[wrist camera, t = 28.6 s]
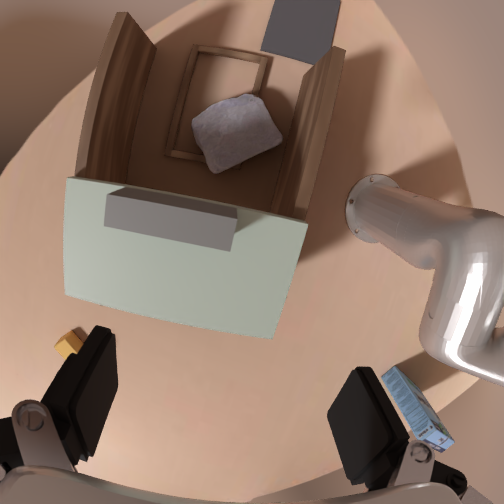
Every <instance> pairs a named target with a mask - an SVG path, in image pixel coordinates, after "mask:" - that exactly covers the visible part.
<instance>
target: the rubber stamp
mask: <svg viewBox="0 0 504 504" xmlns="http://www.w3.org/2000/svg"><path fill="white" fill-rule="evenodd" d="M82 345H83V342H82V341H81V340H80V339H79V338H78V337H77V336H76V334H75V333H74V332H73V331H72V330H71V331H70V332H68V333H67V334H66V335H64V336H63V337H61V338H60V339H59V341H58V342H57V343H56V345H55V346H54V347H55V349H56V350H57V351H58V352H59V354H60V355H61V356H62V357H63V358H64V359H65V360H66V359H67V357H68V356H69V355H70V354H71V353H76V354H77V353H78V352H79V350H80V348H81V347H82ZM57 373H58V372H57ZM56 375H57V374H56Z"/></svg>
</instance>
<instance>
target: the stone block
mask: <svg viewBox="0 0 504 504" xmlns="http://www.w3.org/2000/svg"><path fill="white" fill-rule="evenodd" d="M191 127H192V131H193V134H194V136H195V140H196V143H197V145H198V146H199V147H200V148H201V150H202V151H203V153H204V156H205V158H206V162H207V165H208V167H209V169H210V170H211V171H212V172H213V173H217V174H218V173H220V172H222V171H224V170H226V169H228V168H230V167H232V166H234V165H237V164H239V163H241V162H243V161H245V160H247V159H249V158H251V157H253V156H255V155H257V154H259V153H262V152H264V151H266V150H268V149H271V148H273V147H275V146H277V145H279V144H281V142H282V141H283V136H282V134H281V133H280V132H279V131H278V128H277V127H276V126H275V124H274V122H273V120H272V118H271V116H270V114H269V112H268V110H267V109H266V107H265V104H264V102H263V101H262V100H261V99H260V98H259V97H257V96H255V95H253V94H243V95H241V96H240V97H237V98H230V99H226V100H223V101H220V102H218V103H215V104H213V105H211V106H209V107H208V108H207V109H206V110H205V111H203V112H202V113H201V114H199V115H198V116H196V117H195V118H193V120H192V126H191Z"/></svg>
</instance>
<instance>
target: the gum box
mask: <svg viewBox="0 0 504 504" xmlns="http://www.w3.org/2000/svg"><path fill="white" fill-rule="evenodd" d="M381 378H382V380H383V382H384V383H385V385H386V387H387V388H388V390H389V392H390V393H391V395H392V397H393V398H394V400H395V402H396V403H397V405H398V407H399V409H400V410H401V412H402V414H403V416H404V417H405V419H406V421H407V422H408V424H409V426H410V428H411V429H412V431H413V433H414V434H415V436H416V438H417V440H422V441H425V442H426V443H428V444H429V445H430V446H431V447H432V448H433V449H434V450H437V451H439V452H440V453H442V452H443V451H444V450H446V449H447V448H448V447H450V446H451V445H452V444H453V443H454V440H453V439H452V437H451V436H450V434H449V432H448V431H447V429H446V428H445V426H444V425H443V423H442V422H441V420H440V419H439V417H438V416H437V414H436V413H435V411H434V410H433V408H432V407H431V405H430V404H429V402H428V401H427V399H426V398H425V396H424V395H423V393H422V392H421V390H420V389H419V388H418V387H417V386H416V385H415V384H414V383H413V382H412V381H411V380H410V379H409V378H408V377H407V376H406V375H405V374H404V373H402V372H401V371H400V370H399V369H398V368H397V367H396V366H394V367H393V368H391V369H390V370H389V371H388V372H387V373H385V374H384V375H383V376H382V377H381Z"/></svg>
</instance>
